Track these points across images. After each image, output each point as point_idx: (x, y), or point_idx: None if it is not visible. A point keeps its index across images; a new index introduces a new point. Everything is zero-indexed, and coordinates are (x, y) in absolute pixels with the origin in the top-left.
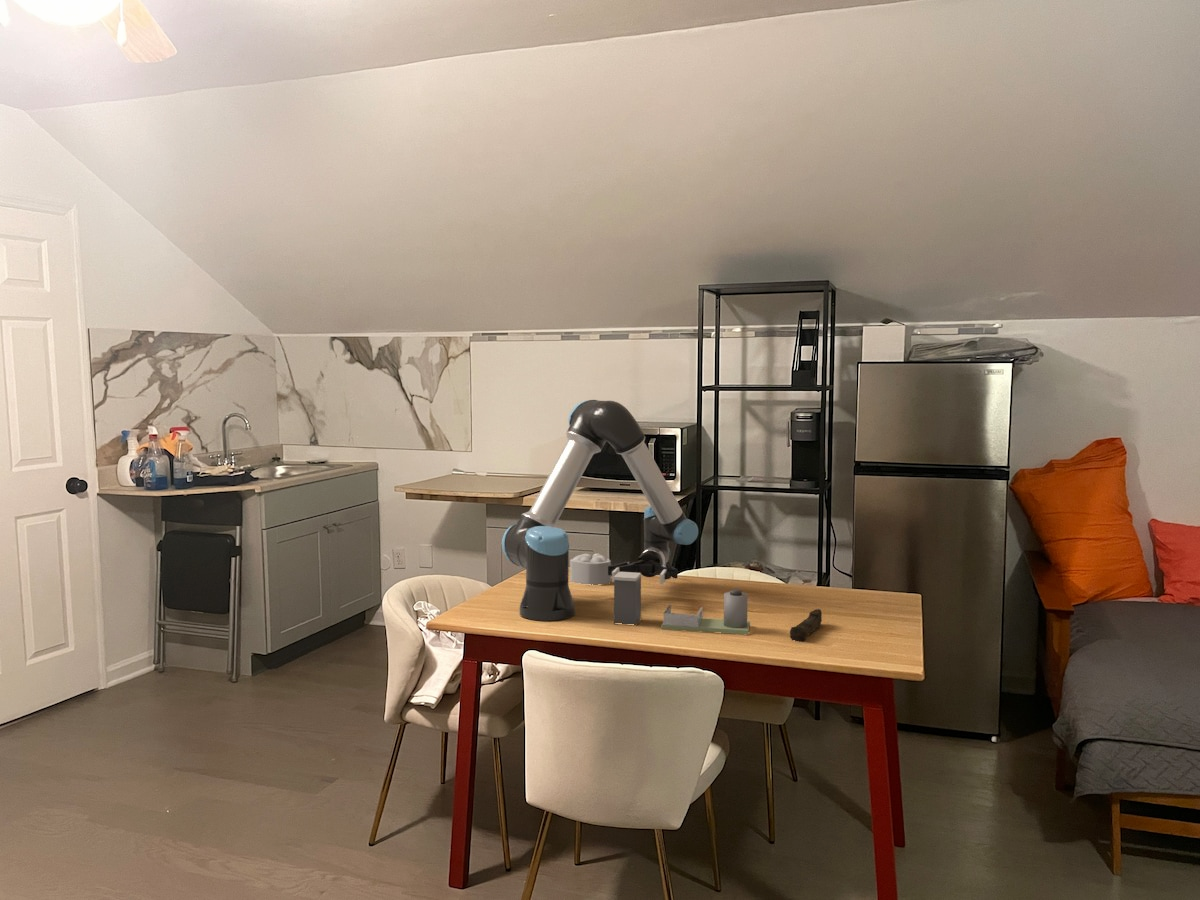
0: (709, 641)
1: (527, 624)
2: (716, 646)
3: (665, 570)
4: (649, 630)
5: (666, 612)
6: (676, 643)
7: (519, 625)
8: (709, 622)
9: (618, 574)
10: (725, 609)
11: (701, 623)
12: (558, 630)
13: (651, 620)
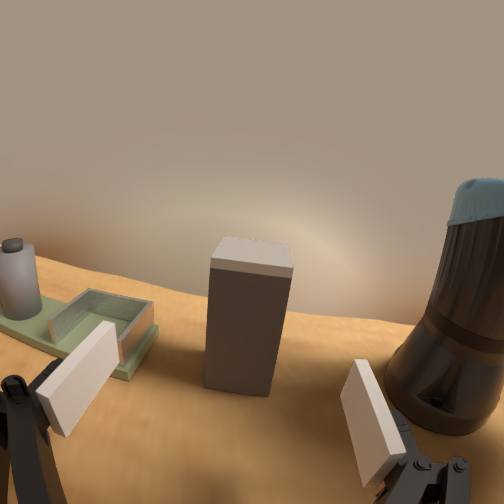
0: None
1: None
2: (98, 279)
3: (51, 375)
4: (185, 330)
5: (145, 306)
6: (149, 289)
7: None
8: None
9: (283, 253)
10: (36, 277)
11: None
12: (355, 326)
13: (173, 383)
